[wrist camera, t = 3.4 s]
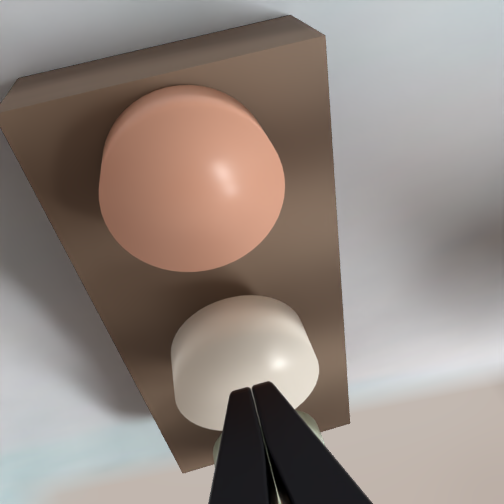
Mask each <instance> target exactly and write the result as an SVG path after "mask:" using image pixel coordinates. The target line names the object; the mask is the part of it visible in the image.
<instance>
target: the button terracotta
mask: <svg viewBox="0 0 504 504" xmlns="http://www.w3.org/2000/svg"><path fill="white" fill-rule="evenodd" d="M284 194H285V178H284V172H283V167H282V164H281V161H280V158H279V156H278V154H277V152H276V150H275V148H274V147H273V145H272V143H271V142H270V140H269V139H268V137H267V135H266V134H265V132H264V131H263V129H262V127H261V126H260V124H259V123H258V121H257V120H256V119H255V117H254V116H253V115H252V113H251V112H250V111H249V110H248V109H247V108H246V107H245V106H244V105H243V104H241V103H240V102H239V101H237V100H236V99H235V98H233V97H231V96H229V95H227V94H225V93H223V92H221V91H218V90H216V89H213V88H208V87H204V86H197V85H176V86H170V87H165V88H162V89H159V90H155V91H153V92H151V93H149V94H147V95H144V96H143V97H141V98H139V99H138V100H136V101H135V102H133V103H132V104H131V105H130V106H129V107H128V108H126V109H125V110H124V111H123V112H122V114H121V115H120V116H119V117H118V118H117V119H116V121H115V123H114V124H113V126H112V127H111V129H110V131H109V134H108V136H107V138H106V141H105V145H104V148H103V155H102V164H101V173H100V182H99V204H100V209H101V213H102V216H103V219H104V221H105V224H106V225H107V227H108V229H109V231H110V233H111V234H112V235H113V237H114V238H115V240H116V241H117V242H118V243H119V244H120V245H121V246H122V247H123V248H124V249H125V250H126V251H128V252H129V253H130V254H131V255H133V256H134V257H136V258H138V259H139V260H141V261H143V262H145V263H147V264H150V265H152V266H155V267H158V268H161V269H166V270H170V271H178V272H198V271H206V270H211V269H215V268H218V267H222V266H225V265H227V264H229V263H232V262H234V261H236V260H238V259H239V258H241V257H243V256H245V255H246V254H247V253H249V252H250V251H252V250H253V249H254V248H255V247H256V246H257V245H259V244H260V243H261V242H262V241H263V239H264V238H265V237H266V236H267V235H268V233H269V232H270V231H271V229H272V228H273V226H274V224H275V222H276V220H277V219H278V217H279V214H280V211H281V208H282V205H283V200H284Z"/></svg>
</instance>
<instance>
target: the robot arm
mask: <svg viewBox="0 0 504 504" xmlns="http://www.w3.org/2000/svg"><path fill="white" fill-rule="evenodd" d="M251 389H252V391H251ZM252 394H253V395H252ZM253 398H254V399H253ZM258 417H259V418H258ZM259 421H260V422H259ZM260 425H261V426H260ZM261 429H262V430H261ZM262 433H263V434H262ZM263 437H264V438H263ZM264 441H265V442H264ZM265 445H266V446H265ZM266 449H267V450H266ZM267 453H268V454H267ZM268 457H269V458H268ZM269 461H270V462H269ZM270 465H271V466H270ZM271 469H272V470H271ZM272 473H273V474H272ZM273 477H274V478H273ZM274 481H275V482H274ZM275 485H276V486H275ZM276 488H277V491H276ZM277 492H278V495H279V498H280V501H281V504H373V503H372V502H371V501H370V500H369V498H368V497H367V496H366V495H365V493H364V492H363V491H362V490H361V489H360V487H359V486H358V485H357V484H356V483H355V481H354V480H353V479H352V478H351V477H350V475H349V474H348V473H347V472H346V471H345V469H344V468H343V467H342V466H341V465H340V464H339V462H338V461H337V460H336V459H335V457H334V456H333V455H332V454H331V452H329V450H328V449H327V448H326V447H325V445H324V444H323V443H322V442H321V440H320V439H319V438H318V437H317V436H316V434H315V433H314V432H313V431H312V430H311V428H310V427H309V426H308V425H307V424H306V422H305V421H304V420H303V419H302V418H301V416H300V415H299V414H298V413H297V412H296V410H295V409H294V408H293V407H292V405H291V404H290V403H289V402H288V401H287V399H286V398H285V397H284V396H283V395H282V393H281V392H280V391H279V390H278V389H277V387H276V386H275V385H274V384H273V383H272V382H270V381H267V382H263V383H259V384H256V385H253V386H252V388H250V387H245V388H241V389H237V390H234V391H232V392H231V393H230V395H229V400H228V405H227V410H226V415H225V420H224V425H223V431H222V436H221V441H220V446H219V451H218V456H217V461H216V467H215V472H214V477H213V482H212V488H211V492H210V497H209V503H208V504H279V502H278V495H277Z"/></svg>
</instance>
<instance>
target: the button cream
mask: <svg viewBox="0 0 504 504" xmlns="http://www.w3.org/2000/svg"><path fill="white" fill-rule="evenodd" d="M171 362H172V372H173V383H174V393H175V401H176V404H177V407H178V409H179V411H180V412H181V413H182V414H183V416H184V417H185V418H187V419H188V420H189V421H191V422H192V423H194V424H196V425H199V426H201V427H204V428H207V429H212V430H218V431H223V425H224V420H225V415H226V410H227V405H228V400H229V395H230V393H231V392H232V391H234V390H237V389H241V388H245V387H250V388H252V386H253V385H256V384H259V383H263V382H267V381H270V382H272V383H273V384H274V385H275V386H276V387H277V389H278V390H279V391H280V392H281V393H282V395H283V396H284V397H285V398H286V399H287V401H288V402H289V403H290V404H291V405H292V407H293V408H294V409H296V408H297V407H298V406H299V405H300V404H302V403H303V402H304V401H305V400H306V398H307V397H308V396H309V395H310V393H311V392H312V391H313V389H314V387H315V385H316V382H317V380H318V375H319V364H318V360H317V357H316V355H315V353H314V350H313V348H312V346H311V343H310V341H309V339H308V336H307V334H306V332H305V329H304V327H303V325H302V322H301V320H300V318H299V316H298V315H297V313H296V312H295V311H294V310H293V309H292V308H291V307H289V306H288V305H286V304H285V303H283V302H281V301H279V300H276V299H273V298H270V297H265V296H257V295H243V296H235V297H230V298H226V299H223V300H220V301H217V302H214V303H212V304H210V305H207V306H206V307H204V308H202V309H200V310H199V311H197V312H196V313H195V314H193V315H192V316H191V317H190V318H188V319H187V320H186V321H185V322H184V324H183V325H182V326H181V327H180V328H179V330H178V331H177V333H176V335H175V337H174V339H173V342H172V346H171ZM251 391H252V389H251ZM252 395H253V394H252ZM253 399H254V398H253ZM258 418H259V417H258ZM259 422H260V421H259ZM260 426H261V425H260Z"/></svg>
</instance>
